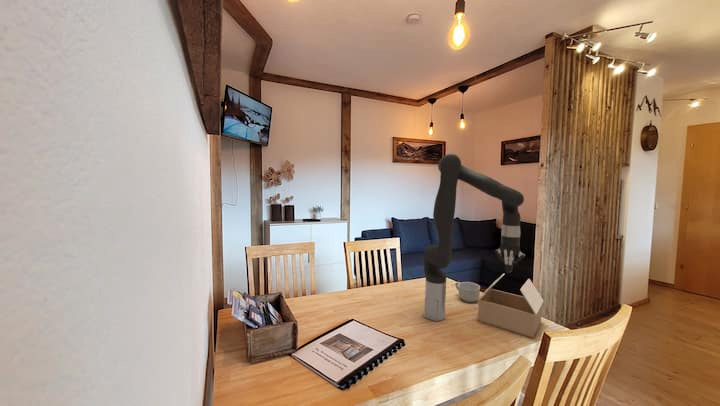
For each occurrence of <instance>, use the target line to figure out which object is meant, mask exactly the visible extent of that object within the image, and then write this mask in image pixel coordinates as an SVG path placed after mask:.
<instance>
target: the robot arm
mask: <svg viewBox="0 0 720 406" xmlns="http://www.w3.org/2000/svg"><path fill="white" fill-rule="evenodd" d="M437 169H438V172H440V178H439V179H440V180H439V187H438V189H437V193H436V197H435V200H434V205H433V206H434V207H433V215H432V218H433V223H434V226H435V228H436V231H437V235H438V245H436V244H430V245H428V246H427V247H426V248H425V250H424V253H423V254H424V255H423V270H424V271H423V273H424V275H425V287H424V288H425V292H424V307H423V309H424V310H423V311H424V312H423V314H424V315H423V317H424V318H426V319H428V320H431V321H433V322H438V321H443V320H444V319H446V294H447V293H446V292H447V275H446V274H445V272H444V271H443V270H442V269H447V268H448V267H449V265H450V263H451V260H452V251H453V250H452V249H453V247H452V246H453V245H452V243H453V242H452V241H453V230H454V229H453V228H454V220H455V213H456V202H457V188H458V187H457V186H458V181H461V182H463V183H466V184H468V185H470V186H471V187H474V188H475V189H476V190H479V191H480V192H483V193H485V194H486V195H488V196H489V197H493V198H495V199H498V200H499V201H501V207H502V214H503V215H502V226H501V233H500V234H501V236H500V245H499V248H498V249H495V250H494V253H495V254H494V255H496V257H497V258H498V259H499V261H500V262H501V263H504V271H505V272H506V273H508V274H510V273H512V271H513V267H514V266H513V265H515V266H516V265H517V264H518V263H519V262H521V260H522V259H524V258H525V256H526V254H525V253H523V252H522V251H521V248H520V243H521V241H520V240H521V214H520V212H519V207H520V206H521V205H522V204H523V203H524V202H525V196H524V195H523V194H522V192H520V191H518V190H517V189H514V188H511V187H510V186H508V185H504V184H503V183H501V182H499V181H498V180H496V179H494V178H492V177H490V176H488V175H486V174H482V173H480V172H476V171H474V170H472V169H470V168H468V167H466V166H464V165H463V164H462V161H461V158H460V156H458V155H457V154H455V153H448V154H445V155H444V156H443V157H441V159H440V160H439V161H438V164H437ZM516 256H518V258H517V259H516V260H515V258H516Z"/></svg>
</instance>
